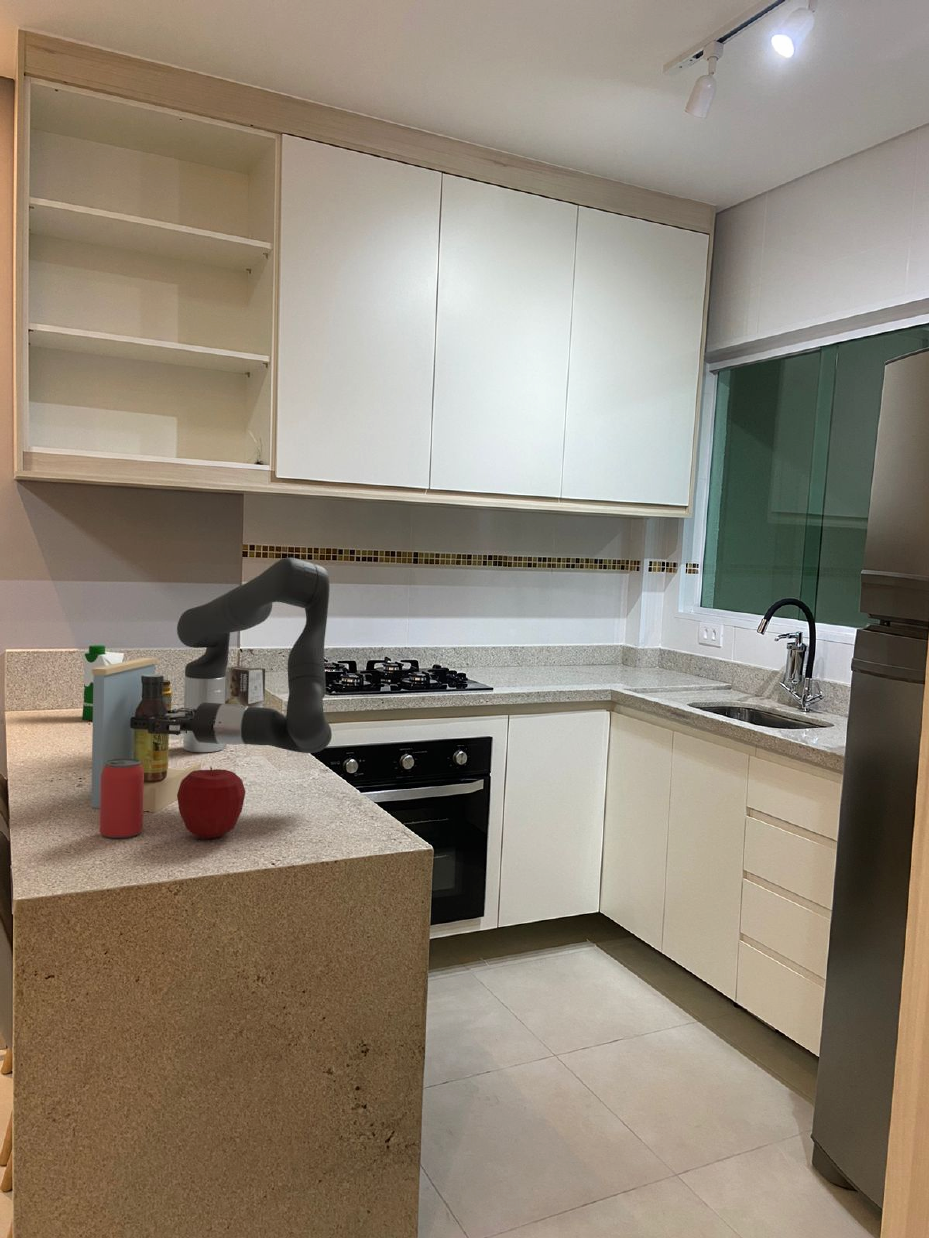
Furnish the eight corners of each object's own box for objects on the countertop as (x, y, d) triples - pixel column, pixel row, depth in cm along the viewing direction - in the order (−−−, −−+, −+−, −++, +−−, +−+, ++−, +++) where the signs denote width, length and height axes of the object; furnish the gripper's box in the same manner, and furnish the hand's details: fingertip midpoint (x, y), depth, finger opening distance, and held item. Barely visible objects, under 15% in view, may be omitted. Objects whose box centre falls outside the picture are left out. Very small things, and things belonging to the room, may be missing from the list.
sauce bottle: (157, 784, 171) (157, 678, 169) (126, 781, 172) (126, 676, 171) (175, 775, 178) (175, 673, 176) (145, 773, 179) (145, 671, 177)
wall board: (141, 781, 185) (144, 657, 183) (200, 785, 183) (203, 660, 182) (89, 807, 165) (92, 668, 163) (155, 812, 164) (158, 672, 162)
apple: (207, 851, 144) (209, 777, 143) (161, 837, 149) (162, 766, 149) (258, 835, 153) (260, 765, 152) (212, 823, 159) (214, 756, 158)
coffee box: (265, 728, 247) (266, 668, 246) (247, 731, 241) (249, 670, 240) (240, 723, 251) (242, 665, 250) (222, 726, 246) (224, 666, 245)
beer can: (106, 827, 154) (108, 756, 153) (147, 828, 154) (148, 757, 153) (94, 839, 147) (95, 765, 146) (136, 840, 148) (138, 766, 147)
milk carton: (76, 719, 247) (78, 645, 246) (102, 715, 255) (104, 643, 254) (101, 723, 243) (102, 648, 242) (126, 718, 252) (128, 645, 250)
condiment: (170, 722, 249) (171, 678, 248) (175, 728, 241) (176, 682, 240) (142, 723, 246) (143, 679, 245) (146, 729, 238) (147, 683, 237)
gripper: (238, 698, 179) (159, 693, 181) (209, 709, 165) (124, 704, 167) (237, 736, 180) (158, 731, 182) (208, 751, 166) (123, 745, 168)
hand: (141, 718), depth 174 cm, fingers open, 8 cm apart
